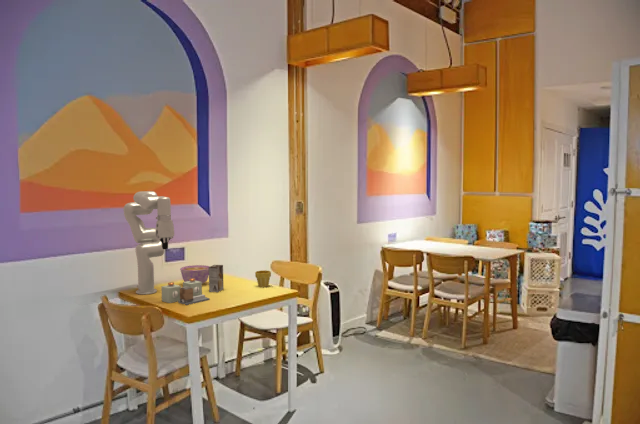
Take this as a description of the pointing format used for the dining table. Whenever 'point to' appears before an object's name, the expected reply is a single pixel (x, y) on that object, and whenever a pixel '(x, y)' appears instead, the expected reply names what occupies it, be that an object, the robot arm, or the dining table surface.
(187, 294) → the brown upright block
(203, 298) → the rail board
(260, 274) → the plant pot
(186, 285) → the cabinet
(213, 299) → the dining table surface
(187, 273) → the bowl of food
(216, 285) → the coffee box
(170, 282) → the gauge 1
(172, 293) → the cabinet
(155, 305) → the dining table surface
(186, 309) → the dining table surface
